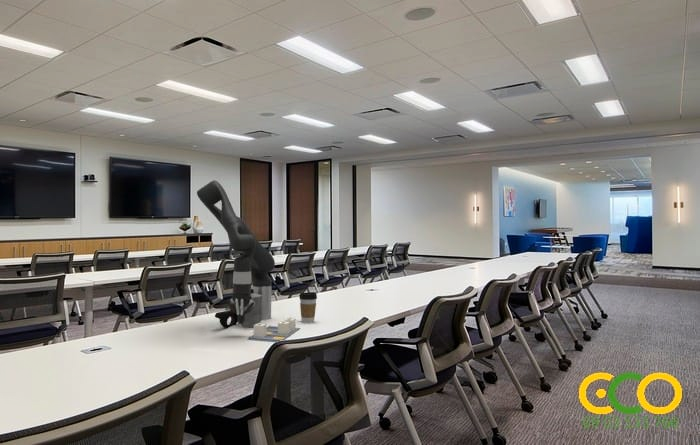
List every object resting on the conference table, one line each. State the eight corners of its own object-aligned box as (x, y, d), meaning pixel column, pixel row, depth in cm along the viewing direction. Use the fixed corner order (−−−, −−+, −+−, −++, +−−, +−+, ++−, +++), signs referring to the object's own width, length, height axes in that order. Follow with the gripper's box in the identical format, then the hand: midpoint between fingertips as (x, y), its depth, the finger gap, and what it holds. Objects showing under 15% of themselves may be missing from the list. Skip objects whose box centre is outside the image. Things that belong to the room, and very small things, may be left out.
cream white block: (277, 335, 186) (277, 321, 186) (281, 332, 190) (281, 319, 190) (286, 335, 186) (286, 322, 186) (290, 333, 189) (290, 320, 189)
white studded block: (283, 331, 193) (283, 318, 193) (286, 329, 197) (287, 316, 197) (292, 332, 192) (292, 319, 192) (295, 329, 196) (295, 317, 196)
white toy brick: (253, 337, 182) (253, 323, 182) (257, 335, 186) (257, 321, 186) (262, 338, 181) (262, 324, 181) (266, 335, 185) (266, 322, 185)
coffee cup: (315, 326, 209) (316, 294, 209) (297, 325, 209) (298, 294, 209) (317, 322, 217) (317, 291, 217) (300, 321, 217) (300, 291, 217)
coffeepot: (261, 332, 196) (261, 291, 196) (239, 332, 195) (239, 291, 195) (263, 323, 212) (263, 286, 212) (242, 324, 210) (243, 286, 210)
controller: (241, 326, 206) (241, 305, 206) (219, 331, 195) (219, 309, 195) (235, 325, 208) (235, 303, 208) (213, 330, 198) (213, 307, 198)
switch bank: (246, 342, 179) (246, 338, 179) (270, 328, 202) (270, 325, 202) (280, 345, 176) (280, 341, 176) (300, 331, 199) (300, 327, 199)
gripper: (223, 282, 183) (222, 324, 183) (252, 284, 180) (251, 326, 180) (232, 280, 190) (231, 320, 190) (260, 281, 187) (259, 322, 187)
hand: (241, 323), depth 185 cm, fingers closed
